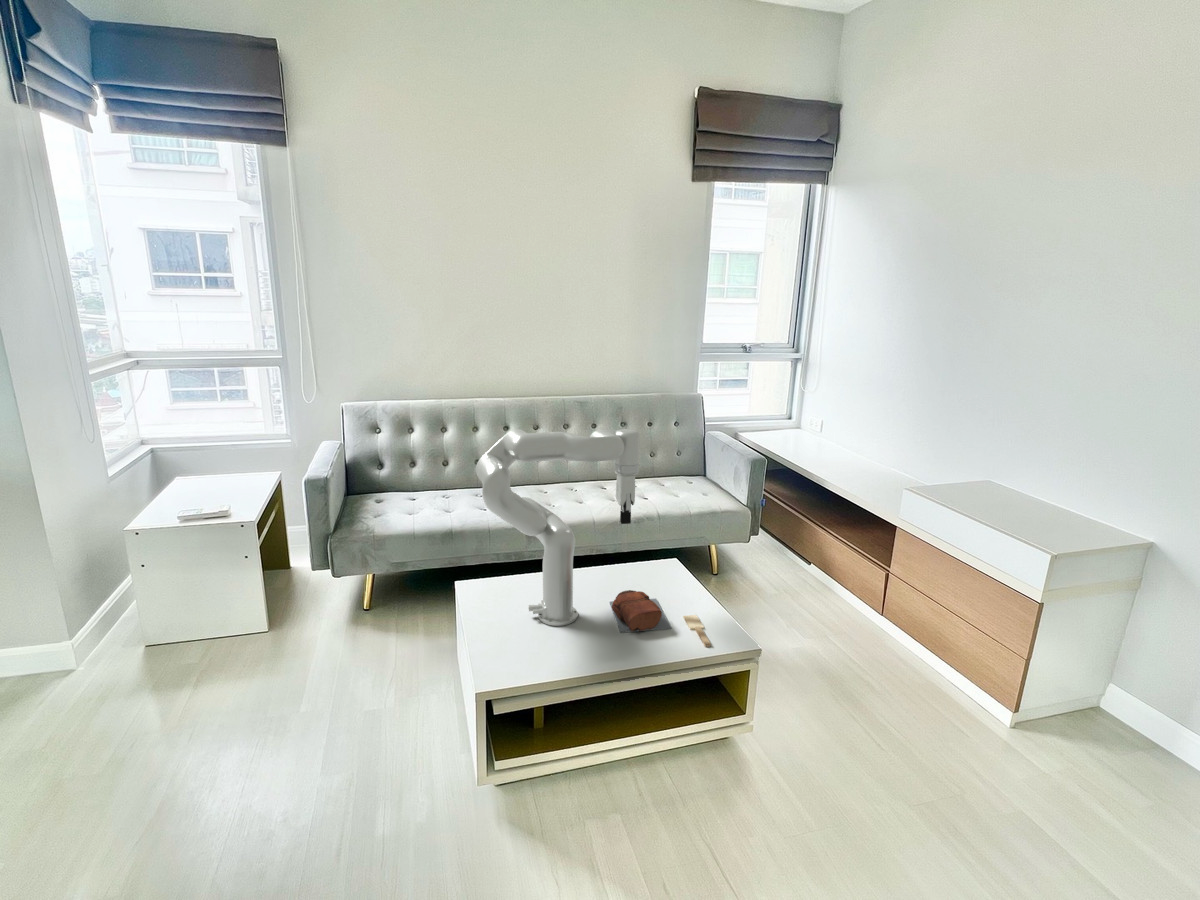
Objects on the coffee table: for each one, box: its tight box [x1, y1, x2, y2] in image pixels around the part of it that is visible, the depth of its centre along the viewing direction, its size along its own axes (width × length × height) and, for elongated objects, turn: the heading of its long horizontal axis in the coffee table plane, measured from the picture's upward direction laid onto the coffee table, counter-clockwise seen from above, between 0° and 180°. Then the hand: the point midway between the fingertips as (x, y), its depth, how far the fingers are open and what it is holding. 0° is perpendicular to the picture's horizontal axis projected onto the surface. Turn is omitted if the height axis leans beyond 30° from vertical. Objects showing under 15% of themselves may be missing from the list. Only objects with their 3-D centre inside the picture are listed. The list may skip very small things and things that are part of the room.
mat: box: [609, 598, 672, 633], centre depth 200 cm, size 16×19×1 cm
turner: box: [682, 614, 712, 648], centre depth 191 cm, size 18×4×1 cm, turn 9°
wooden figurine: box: [611, 589, 662, 632], centre depth 197 cm, size 12×6×18 cm
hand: (625, 522), depth 200 cm, fingers closed
